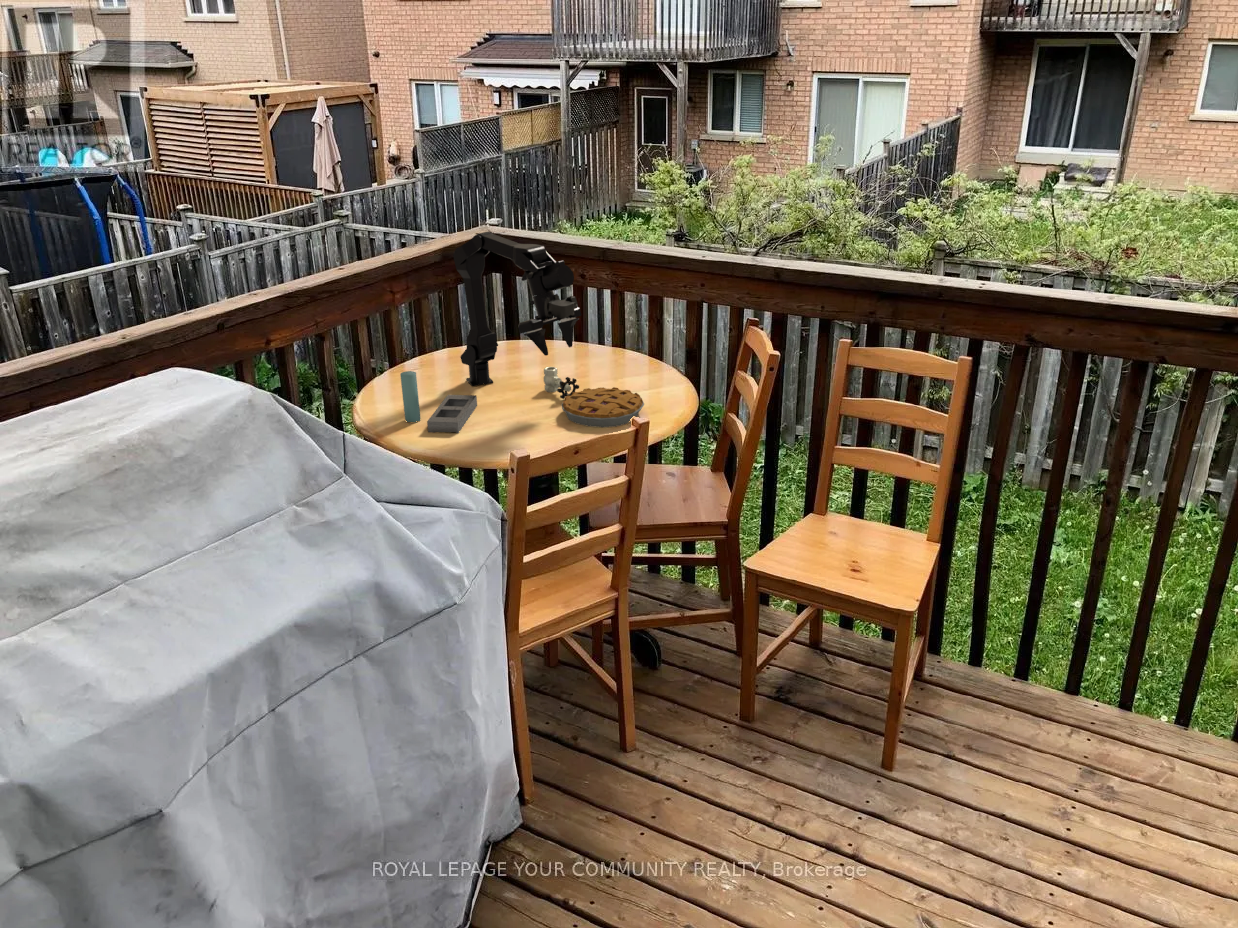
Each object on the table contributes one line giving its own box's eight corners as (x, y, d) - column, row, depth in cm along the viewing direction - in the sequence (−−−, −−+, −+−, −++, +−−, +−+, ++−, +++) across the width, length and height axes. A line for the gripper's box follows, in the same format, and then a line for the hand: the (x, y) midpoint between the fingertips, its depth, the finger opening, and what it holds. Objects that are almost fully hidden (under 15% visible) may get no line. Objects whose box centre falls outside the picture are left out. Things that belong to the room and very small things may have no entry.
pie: (656, 407, 271) (656, 389, 269) (623, 435, 253) (623, 416, 251) (584, 396, 279) (583, 379, 277) (547, 423, 261) (546, 405, 259)
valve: (537, 390, 284) (559, 402, 275) (536, 368, 281) (558, 380, 272) (557, 386, 287) (579, 397, 278) (556, 364, 285) (579, 375, 276)
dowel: (403, 419, 265) (398, 372, 259) (418, 416, 266) (413, 370, 261) (407, 424, 261) (402, 377, 256) (422, 421, 263) (417, 374, 258)
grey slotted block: (448, 405, 274) (447, 394, 273) (477, 405, 273) (476, 395, 272) (428, 432, 256) (427, 421, 255) (458, 433, 255) (457, 422, 254)
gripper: (537, 295, 250) (554, 355, 253) (587, 281, 263) (603, 338, 266) (509, 303, 258) (526, 361, 261) (559, 289, 271) (574, 344, 274)
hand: (558, 351), depth 265 cm, fingers open, 9 cm apart
